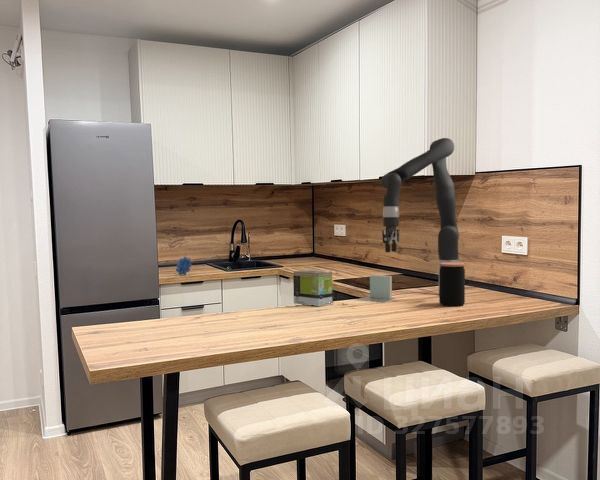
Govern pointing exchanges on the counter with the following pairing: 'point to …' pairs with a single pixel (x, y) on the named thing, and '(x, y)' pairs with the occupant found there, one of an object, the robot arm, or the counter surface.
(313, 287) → the tea box
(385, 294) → the tile
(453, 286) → the coffee jar
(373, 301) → the slate board
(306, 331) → the counter surface
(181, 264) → the grapes
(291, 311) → the counter surface
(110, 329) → the counter surface
